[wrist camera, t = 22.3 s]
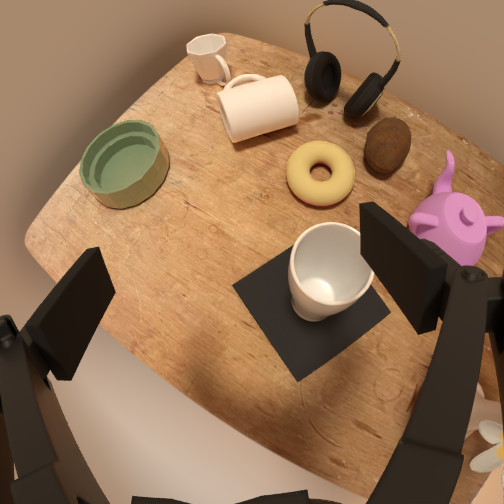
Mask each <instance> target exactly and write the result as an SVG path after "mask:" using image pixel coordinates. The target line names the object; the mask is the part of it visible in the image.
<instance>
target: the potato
mask: <svg viewBox="0 0 504 504" xmlns="http://www.w3.org/2000/svg"><path fill="white" fill-rule="evenodd" d="M410 145H411V132H410V130H409V127H408V126H407V124H406V123H405V122H403V121H402V120H400V119H397V118H385V119H383V120H382V121H380V122H378V123H377V124H376V125H374V126H373V127H372V128H371V129H370V131H369V132H368V133H367V139H366V146H365V156H366V159H367V162H368V163H369V165H370V166H371V167H372V168H373V169H374V170H375V171H378V172H380V173H390V172H391V171H393V170H394V169H395V168H396V167H397V166H398V165H399V164H400V163H401V162H403V161H404V159H405V158H406V156H407V154H408V153H409V150H410Z"/></svg>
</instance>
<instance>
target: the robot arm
mask: <svg viewBox="0 0 504 504" xmlns="http://www.w3.org/2000/svg"><path fill="white" fill-rule="evenodd" d="M359 208H360V255H361V256H362V257H363V259H364V260H365V261H366V262H367V264H368V265H369V266H370V268H371V269H372V270H373V272H374V273H375V274H376V276H377V277H378V279H379V280H380V281H381V283H382V284H383V285H384V287H385V288H386V289H387V291H388V292H389V294H390V295H391V296H392V298H393V299H394V301H395V302H396V303H397V305H398V306H399V308H400V309H401V310H402V312H403V313H404V315H405V316H406V318H407V319H408V321H409V322H410V323H411V325H412V326H413V328H414V329H415V331H416V332H417V334H418V335H420V334H423V333H427V332H430V331H433V330H436V326H437V321H438V317H439V318H440V319H441V320H442V321H443V322H442V326H441V330H440V333H439V337H438V340H437V344H436V347H435V350H434V354H433V357H432V360H431V363H430V366H429V369H428V372H427V375H426V378H425V380H424V383H423V386H422V389H421V391H420V394H419V397H418V399H417V402H416V404H415V407H414V409H413V412H412V414H411V417H410V419H409V422H408V424H407V426H406V428H405V431H404V433H403V435H402V437H401V439H400V440H399V442H398V444H397V446H396V448H395V450H394V452H393V455H392V457H391V459H390V461H389V463H388V465H387V466H386V468H385V470H384V472H383V474H382V476H381V478H380V480H379V482H378V483H377V485H376V487H375V489H374V491H373V492H372V494H371V496H370V497H369V499H368V501H367V503H366V504H449V502H450V499H451V497H452V494H453V491H454V489H455V486H456V483H457V480H458V477H459V474H460V471H461V468H462V464H463V461H464V455H462V454H461V451H462V447H463V443H464V440H465V436H466V433H467V429H468V425H469V421H470V417H471V413H472V408H473V404H474V399H475V394H476V389H477V384H478V379H479V373H480V367H481V360H482V353H483V345H484V336H485V333H489V337H490V342H491V347H492V352H493V357H494V362H495V368H496V374H497V380H498V387H499V395H500V403H501V412H502V423H503V437H504V271H503V275H502V277H494V278H488V276H487V274H486V273H485V271H484V270H482V269H480V268H478V267H475V266H469V265H464V266H461V265H460V264H459V263H458V262H456V261H455V260H454V259H453V258H452V257H451V256H450V255H448V254H446V252H445V251H444V250H441V248H440V247H439V246H438V245H437V244H435V243H434V242H432V241H429V240H427V239H425V238H424V239H419V238H418V237H417V236H415V235H414V234H413V233H412V232H411V231H410V230H408V229H407V228H406V227H405V226H403V225H402V224H401V223H400V222H399V221H397V220H396V219H395V218H394V217H392V216H391V215H390V214H389V213H387V212H386V211H385V210H384V209H382V208H381V207H380V206H378V205H377V204H376V203H375V202H367V203H360V204H359ZM115 293H116V292H115V289H114V287H113V284H112V281H111V279H110V276H109V273H108V271H107V268H106V265H105V263H104V260H103V257H102V254H101V251H100V248H99V247H94V248H89V249H86V250H85V252H84V253H83V254H82V255H81V256H80V257H79V258H78V260H77V261H76V262H75V263H74V264H73V265H72V267H71V268H70V269H69V270H68V271H67V273H66V274H65V275H64V276H63V277H62V279H61V280H60V281H59V282H58V283H57V285H56V286H55V287H54V288H53V290H52V291H51V292H50V293H49V295H48V296H47V297H46V298H45V300H44V301H43V302H42V303H41V304H40V306H39V307H38V308H37V310H36V311H35V312H34V313H33V315H32V316H31V318H30V319H29V320H28V321H27V323H26V324H25V326H24V327H23V328H22V330H21V331H20V332H19V330H18V329H17V327H16V325H15V323H14V321H13V319H12V318H11V316H10V315H3V316H0V504H110V503H109V501H108V500H107V498H106V497H105V495H104V493H103V491H102V490H101V488H100V487H99V485H98V483H97V481H96V479H95V478H94V476H93V474H92V472H91V471H90V469H89V467H88V465H87V463H86V461H85V459H84V457H83V455H82V453H81V451H80V449H79V447H78V445H77V443H76V441H75V439H74V437H73V434H72V432H71V430H70V428H69V426H68V423H67V421H66V419H65V416H64V414H63V412H62V409H61V407H60V404H59V402H58V399H57V397H56V394H55V392H54V389H53V386H52V384H51V382H50V380H49V379H48V377H47V375H48V373H49V371H50V370H51V372H52V373H53V375H54V376H55V378H56V379H57V380H64V381H71V380H72V378H73V376H74V374H75V372H76V370H77V367H78V365H79V363H80V361H81V359H82V357H83V355H84V353H85V351H86V349H87V347H88V344H89V343H90V340H91V339H92V336H93V335H94V333H95V331H96V328H97V327H98V325H99V323H100V321H101V319H102V317H103V315H104V313H105V311H106V309H107V308H108V306H109V304H110V302H111V300H112V298H113V296H114V295H115ZM14 463H15V467H16V471H17V475H18V479H16V480H14ZM131 504H189V503H185V502H182V501H178V500H174V499H166V498H149V497H138V496H132V502H131ZM236 504H341V503H338V502H334V501H329V500H322V499H309V497H308V491H307V490H301V491H295V492H289V493H281V494H273V495H264V496H259V497H256V498H253V499H250V500H247V501H243V502H240V503H236Z"/></svg>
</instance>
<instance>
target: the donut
mask: <svg viewBox="0 0 504 504" xmlns="http://www.w3.org/2000/svg"><path fill="white" fill-rule="evenodd" d="M317 163H323V164H326V165H327V166H329V167H330V169H331V171H332V176H331V178H330V179H329V180H327V181H324V182H320V181H316V180H314V179H313V178H312V177H311V175H310V168H311V167H312V166H313V165H314V164H317ZM286 178H287V182H288V184H289V187H290V188H291V190H292V191H293V193H294V194H295V195H296V196H297V197H298V198H299V199H301V200H302V201H304V202H306V203H308V204H311V205H315V206H329V205H333V204H336V203H338V202H340V201H341V200H343V199H344V198H345V197H346V196H347V195H348V194H349V193H350V191H351V189H352V187H353V185H354V181H355V169H354V165H353V162H352V160H351V158H350V157H349V155H348V154H347V153H346V152H345V151H344V150H343V149H342V148H340V147H339V146H337V145H335V144H333V143H330V142H326V141H312V142H308V143H305V144H303V145H301V146H300V147H298V148H297V149H296V150H295V151H294V152H293V153H292V155H291V156H290V158H289V160H288V163H287V166H286Z"/></svg>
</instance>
